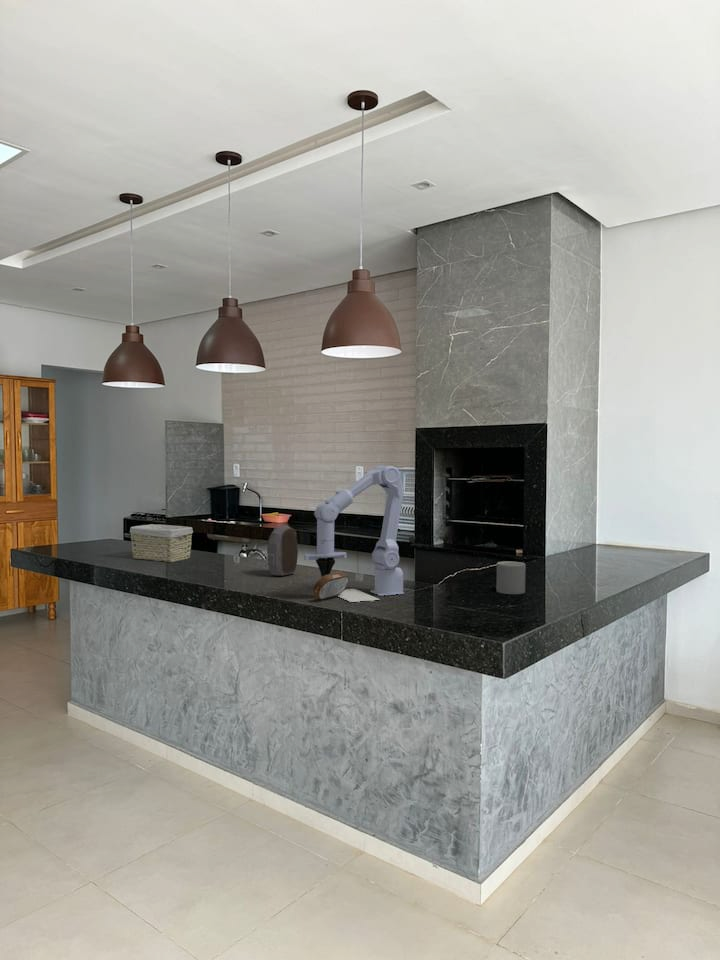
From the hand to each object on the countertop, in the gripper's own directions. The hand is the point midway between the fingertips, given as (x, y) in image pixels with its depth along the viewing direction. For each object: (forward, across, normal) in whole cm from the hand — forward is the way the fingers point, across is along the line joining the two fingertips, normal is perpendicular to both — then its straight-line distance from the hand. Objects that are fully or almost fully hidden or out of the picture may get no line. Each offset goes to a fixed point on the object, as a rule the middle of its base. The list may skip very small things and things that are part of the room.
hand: (325, 580), depth 234 cm
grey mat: (+6, -10, 0) cm, 12 cm away
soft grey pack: (+6, -1, -49) cm, 49 cm away
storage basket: (+6, +35, -109) cm, 114 cm away
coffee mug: (+6, -67, +12) cm, 69 cm away
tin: (+5, -1, 0) cm, 5 cm away
